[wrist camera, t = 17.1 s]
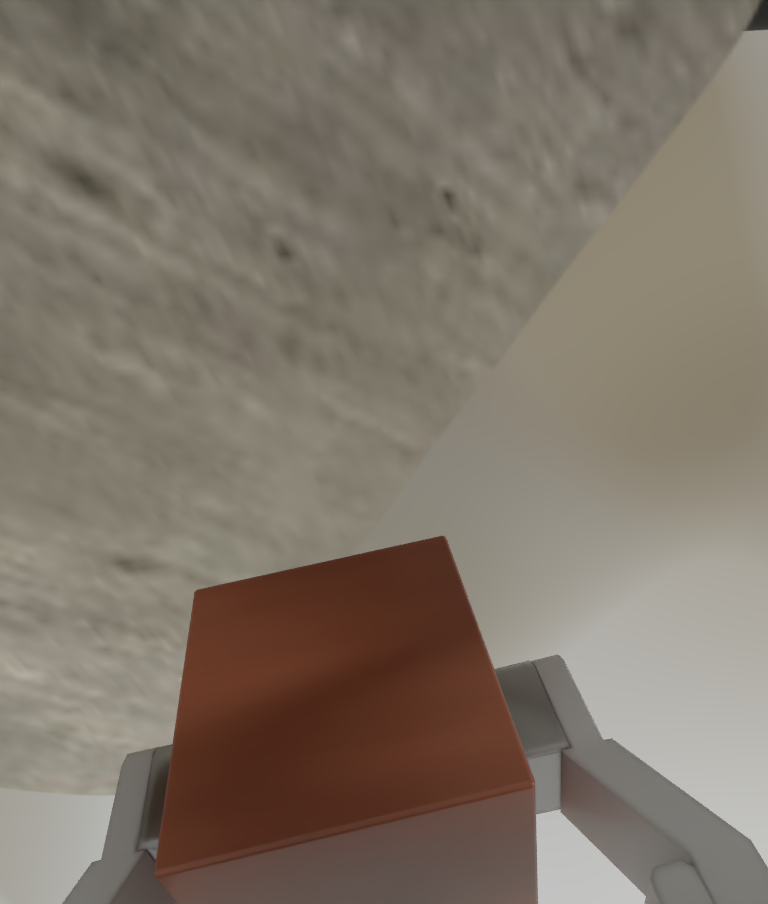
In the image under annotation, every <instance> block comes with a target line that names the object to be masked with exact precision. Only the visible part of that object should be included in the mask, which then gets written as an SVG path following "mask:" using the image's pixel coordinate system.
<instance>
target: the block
mask: <svg viewBox="0 0 768 904" xmlns="http://www.w3.org/2000/svg"><path fill="white" fill-rule="evenodd" d="M154 874H155V878H156V879H157V880H158V881H159V882H160V884H161V885H162V886H163V887H164V889H165V890H166V891H167V892H168V893H169V895H170V896H171V897H172V898H173V900H174V901H175V902H176V903H177V904H538V891H537V889H538V888H537V844H536V797H535V779H534V776H533V774H532V771H531V768H530V766H529V763H528V760H527V757H526V755H525V752H524V749H523V746H522V744H521V741H520V738H519V735H518V733H517V730H516V727H515V725H514V722H513V719H512V716H511V714H510V711H509V708H508V705H507V703H506V700H505V697H504V694H503V692H502V689H501V686H500V683H499V681H498V678H497V675H496V673H495V670H494V667H493V664H492V662H491V659H490V656H489V654H488V651H487V648H486V645H485V642H484V640H483V637H482V634H481V632H480V629H479V626H478V623H477V621H476V618H475V615H474V613H473V610H472V607H471V604H470V602H469V599H468V596H467V593H466V590H465V588H464V585H463V582H462V580H461V577H460V574H459V571H458V569H457V566H456V563H455V561H454V558H453V555H452V552H451V550H450V547H449V544H448V541H447V539H446V537H445V536H439V537H434V538H430V539H425V540H421V541H417V542H412V543H408V544H403V545H398V546H394V547H389V548H385V549H380V550H375V551H371V552H367V553H362V554H357V555H353V556H348V557H344V558H339V559H335V560H330V561H326V562H321V563H316V564H312V565H307V566H303V567H298V568H294V569H289V570H285V571H280V572H276V573H271V574H267V575H262V576H257V577H253V578H248V579H244V580H239V581H235V582H230V583H226V584H221V585H217V586H212V587H208V588H203V589H199V590H196V591H195V593H194V600H193V607H192V614H191V621H190V628H189V635H188V641H187V648H186V655H185V662H184V669H183V676H182V683H181V690H180V697H179V704H178V711H177V718H176V725H175V731H174V738H173V745H172V752H171V759H170V766H169V773H168V780H167V787H166V794H165V801H164V808H163V815H162V822H161V828H160V835H159V842H158V849H157V856H156V863H155V870H154Z"/></svg>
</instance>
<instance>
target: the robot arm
mask: <svg viewBox="0 0 768 904" xmlns="http://www.w3.org/2000/svg"><path fill="white" fill-rule="evenodd" d="M494 670H495V673H496V675H497V678H498V681H499V683H500V686H501V689H502V692H503V694H504V697H505V700H506V703H507V705H508V708H509V711H510V714H511V716H512V719H513V722H514V725H515V727H516V730H517V733H518V735H519V738H520V741H521V744H522V746H523V749H524V752H525V755H526V757H527V760H528V763H529V766H530V768H531V771H532V774H533V776H534V779H535V797H536V814H540V813H544V812H549V811H554V810H558V809H561V813H562V814H563V815H565V816H566V818H567V819H568V820H569V821H571V823H573V824H574V825H575V826H576V827H577V828H578V829H579V830H580V831H581V832H582V833H583V834H584V835H585V836H586V837H587V838H588V839H589V840H590V841H591V842H592V843H593V844H594V845H595V846H596V847H597V848H598V849H599V850H600V851H601V852H602V853H603V854H604V855H605V856H606V857H607V858H608V859H609V860H610V861H611V862H612V863H613V864H614V865H615V866H616V867H617V868H618V869H619V870H620V871H621V872H622V873H623V874H624V875H625V876H626V877H627V878H628V879H629V880H630V881H631V882H632V883H633V884H635V886H636V887H637V888H638V889H639V890H640V891H641V892H643V894H645V896H646V900H645V904H768V868H767V866H766V864H765V863H764V861H763V859H762V858H761V856H760V854H759V853H758V851H757V850H756V848H755V846H754V845H753V843H752V841H751V840H750V839H748V838H747V837H745V836H744V835H743V834H742V833H740V832H739V831H737V830H736V829H735V828H733V827H732V826H731V825H729V824H728V823H726V822H725V821H724V820H722V819H721V818H720V817H718V816H717V815H716V814H714V813H713V812H712V811H710V810H709V809H707V808H706V807H704V806H703V805H702V804H700V803H699V802H698V801H696V800H695V799H694V798H692V797H691V796H690V795H688V794H687V793H685V792H684V791H683V790H681V789H680V788H679V787H677V786H676V785H675V784H673V783H672V782H670V781H669V780H668V779H666V778H665V777H663V776H662V775H661V774H660V773H658V772H657V771H655V770H654V769H653V768H651V767H650V766H649V765H647V764H646V763H645V762H643V761H642V760H640V759H639V758H638V757H636V756H635V755H634V754H632V753H631V752H629V751H628V750H626V749H625V748H624V747H622V746H621V745H620V744H619V743H617V742H616V741H614V740H613V739H607V740H603V739H602V737H601V735H600V732H599V731H598V729H597V726H596V724H595V723H594V720H593V718H592V716H591V714H590V712H589V710H588V708H587V706H586V704H585V703H584V700H583V698H582V696H581V694H580V692H579V690H578V688H577V686H576V684H575V682H574V680H573V678H572V675H571V673H570V671H569V669H568V667H567V665H566V663H565V661H564V660H563V659H562V658H561V657H560V656H559V655H554V656H550V657H546V658H542V659H538V660H534V661H526V662H522V663H518V664H514V665H510V666H506V667H502V668H498V669H494ZM172 745H173V744H172ZM172 745H167V746H162V747H156V748H152V749H148V750H143V751H139V752H135V753H131V754H128V755H127V756H126V758H125V760H124V762H123V764H122V766H121V771H120V776H119V780H118V785H117V789H116V794H115V799H114V804H113V808H112V812H111V817H110V822H109V826H108V831H107V836H106V840H105V845H104V849H103V854H102V859H101V860H99V861H95V862H92V863H91V865H90V866H89V867H88V869H87V870H86V872H85V873H84V874H83V876H82V877H81V879H80V880H79V881H78V883H77V884H76V885H75V887H74V888H73V890H72V891H71V893H70V894H69V895H68V897H67V898H66V899H65V901H64V902H63V904H177V903H176V902H175V901H174V900H173V898H172V897H171V896H170V895H169V893H168V892H167V891H166V890H165V889H164V887H163V886H162V885H161V884H160V882H159V881H158V880H157V879H156V878H155V874H154V870H155V863H156V856H157V849H158V842H159V835H160V828H161V822H162V815H163V808H164V801H165V794H166V787H167V780H168V773H169V766H170V759H171V752H172Z"/></svg>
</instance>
